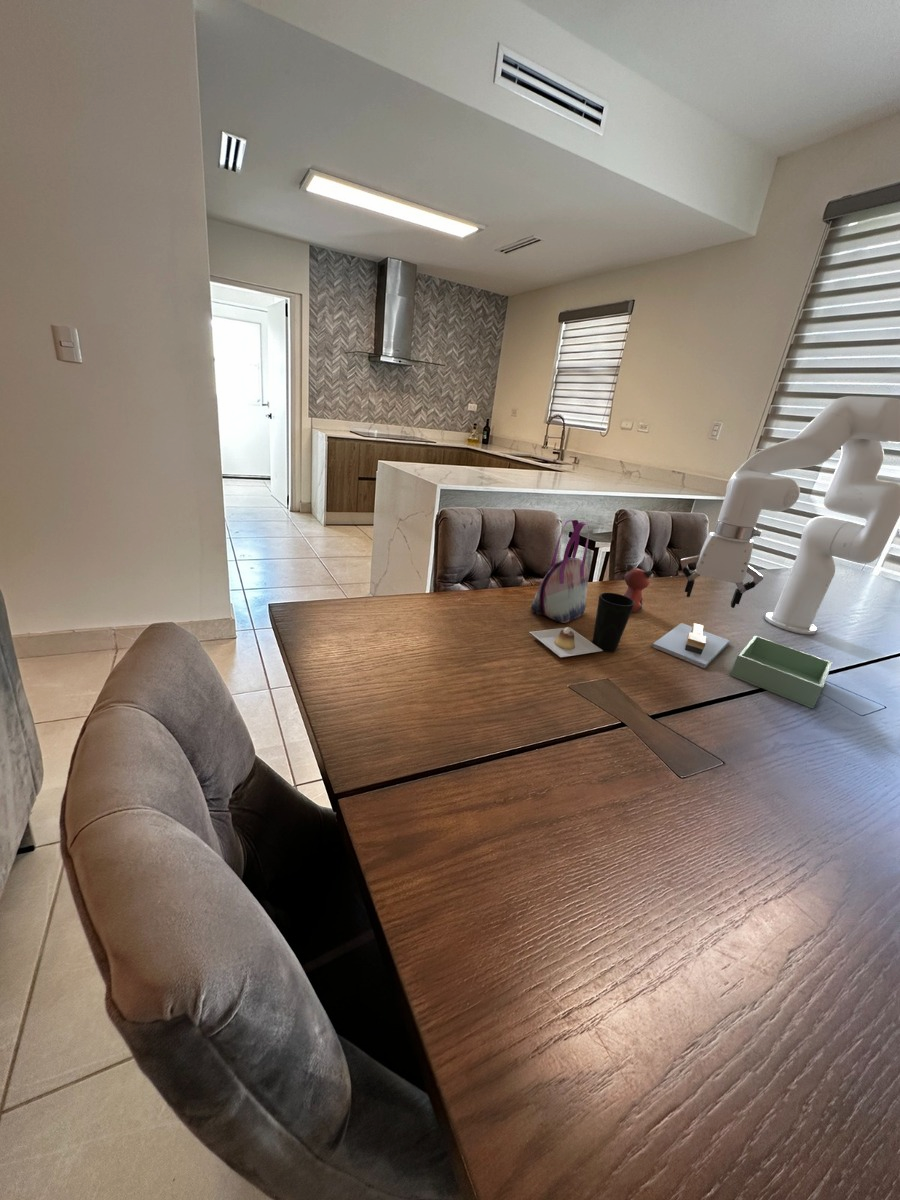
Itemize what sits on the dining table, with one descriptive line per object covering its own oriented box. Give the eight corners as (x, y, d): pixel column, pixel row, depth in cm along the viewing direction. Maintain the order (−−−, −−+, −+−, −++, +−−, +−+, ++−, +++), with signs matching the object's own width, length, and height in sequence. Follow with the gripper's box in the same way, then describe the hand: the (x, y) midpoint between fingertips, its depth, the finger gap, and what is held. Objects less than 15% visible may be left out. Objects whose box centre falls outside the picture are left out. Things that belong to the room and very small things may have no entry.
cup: (623, 657, 106) (637, 608, 101) (588, 650, 107) (601, 602, 102) (618, 641, 113) (631, 596, 108) (586, 635, 114) (598, 590, 109)
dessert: (568, 631, 115) (572, 613, 114) (602, 655, 106) (607, 636, 104) (528, 636, 110) (531, 617, 108) (559, 661, 100) (564, 642, 99)
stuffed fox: (606, 609, 131) (617, 569, 127) (619, 599, 140) (629, 561, 135) (633, 618, 127) (645, 577, 123) (644, 607, 136) (656, 568, 131)
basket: (747, 653, 115) (755, 635, 113) (822, 681, 106) (832, 662, 104) (729, 675, 104) (737, 655, 102) (812, 708, 94) (823, 687, 92)
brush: (686, 632, 120) (690, 621, 119) (702, 637, 119) (706, 626, 118) (684, 649, 111) (688, 638, 110) (701, 654, 109) (705, 643, 108)
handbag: (550, 630, 115) (572, 530, 105) (518, 615, 121) (535, 519, 111) (593, 611, 129) (616, 522, 120) (562, 598, 135) (581, 513, 126)
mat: (680, 626, 126) (681, 622, 126) (728, 643, 119) (729, 640, 119) (651, 647, 112) (653, 643, 112) (704, 668, 105) (705, 664, 105)
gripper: (776, 535, 105) (749, 605, 112) (692, 520, 112) (672, 587, 119) (779, 542, 99) (751, 615, 106) (690, 526, 106) (670, 596, 113)
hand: (709, 600), depth 113 cm, fingers open, 9 cm apart
